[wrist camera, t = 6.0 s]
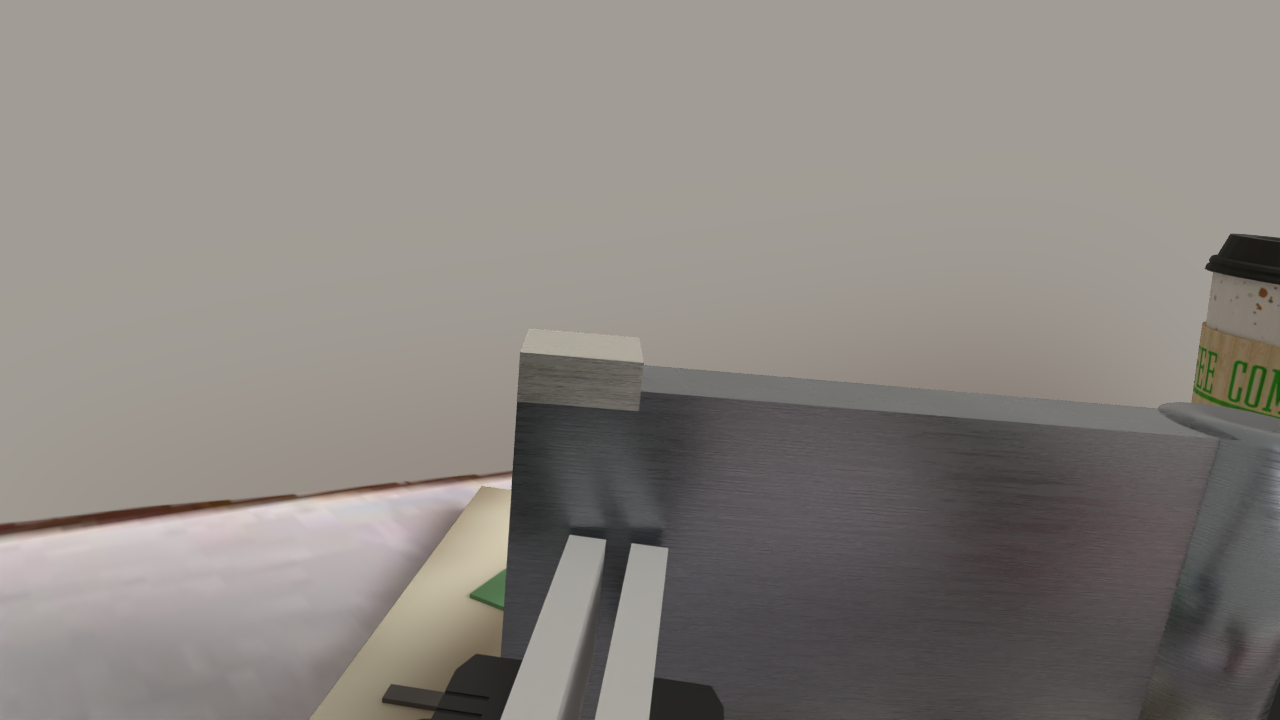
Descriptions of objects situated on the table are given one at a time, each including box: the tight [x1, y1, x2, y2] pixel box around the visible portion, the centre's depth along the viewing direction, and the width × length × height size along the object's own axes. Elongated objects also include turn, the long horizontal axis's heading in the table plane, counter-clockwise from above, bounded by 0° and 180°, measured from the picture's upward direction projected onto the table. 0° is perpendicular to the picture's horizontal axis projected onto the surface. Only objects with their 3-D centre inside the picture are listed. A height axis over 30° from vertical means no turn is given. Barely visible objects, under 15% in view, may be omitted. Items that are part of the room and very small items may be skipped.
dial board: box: [309, 486, 511, 720], centre depth 26 cm, size 24×20×2 cm
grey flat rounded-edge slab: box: [501, 328, 1280, 720], centre depth 19 cm, size 18×4×11 cm, turn 93°
